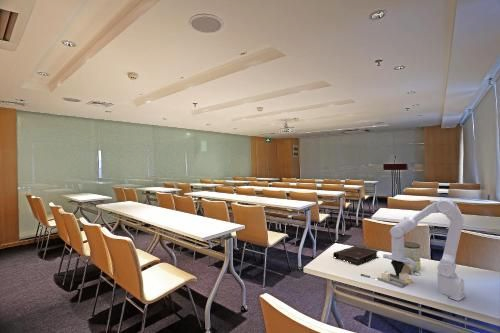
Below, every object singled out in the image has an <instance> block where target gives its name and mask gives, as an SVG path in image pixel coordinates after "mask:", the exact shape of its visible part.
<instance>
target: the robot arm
mask: <svg viewBox="0 0 500 333" xmlns="http://www.w3.org/2000/svg"><path fill="white" fill-rule="evenodd" d="M439 213H441V214H443V215H445V217H447V219H448V220H449V221H450V222H449V226H448V232H447V235H446V240H445V245H444V249H443V254H442V256H441V257H442V258H440V260H439V263H438V264H437V266H436V269H437V273H436V274H437V291H438V292H439V293H441V294H443V295H447V296H448V297H447V298H449V299H452V300H454V301H459V302H460V301H461V300H462V299H463V298H465V297H466V295H465V280H464V279H463V278H461V277H459V276H458V275H457V274H456V272H455V271H456V268H457V263H456V258H457V251H458V248H459V243H460V238H461V234H462V229H463V225H464V222H465V220H464V219H465V217H464V216H463V214H462V212H461V210H460V208H459V206H458V204H457V203H456V202H455V201H453V199H451V198H449V197H444V198H443V197H442V198H440V199H439V200H437V201H435V202H433V203H431V204H429V205H426V207H425V208H423V209H422V210H420V211H419V212H418V213H416V214H415V215H414V216H409V215H408V216H405V217H403V220H401V221H399V222H396V223H395V225H393V226H392V227H391V228H390V230H389V233H390V235H391V254H387V253H383V254H382V258H383V259H387V260H390V264H391V265H392V267H393V269H394V272H395V275H396V276H399V273H401V271H402V269H403V267H404V265H405V264H409V265H411V266H413V265H414V261H411V260H409V259H406V258H404V242H405V240H404V239H405V237H404V236H405V235H406V234H407V233H409V232H410V231H412V230H414V229H415V228H417V227H418V223H419V222H420V221H421V220H423V219H425V218H427V217H428V216H430V215H431V214H439Z"/></svg>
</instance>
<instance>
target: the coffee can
mask: <svg viewBox="0 0 500 333" xmlns="http://www.w3.org/2000/svg"><path fill="white" fill-rule="evenodd" d="M404 258H409V259H412V260H413V261H414V262H415V263H416V266H417V270H418V271H419V272H421V270H422V269H421V245H420V244H419V243H417V242H412V241H404Z"/></svg>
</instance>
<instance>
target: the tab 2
mask: <svg viewBox="0 0 500 333" xmlns="http://www.w3.org/2000/svg"><path fill="white" fill-rule="evenodd" d="M399 279H400V280H403V281H407V280H408V279H409V274H407V273H406V272H401V273H399Z"/></svg>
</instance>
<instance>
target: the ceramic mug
mask: <svg viewBox="0 0 500 333" xmlns="http://www.w3.org/2000/svg"><path fill="white" fill-rule="evenodd" d="M406 259H409V258H406ZM409 260H411V261H413V260H412V259H409ZM401 272H406V273H407V274H408V275H412V276H416V277H417V276H418V277H419V276H421V275H422V273H421V271H418V270H417V266H416V263H415V262H414V265H413V266H411V265H409V264H405V265H404V267H403V269H402V271H401ZM415 272H416V273H415Z"/></svg>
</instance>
